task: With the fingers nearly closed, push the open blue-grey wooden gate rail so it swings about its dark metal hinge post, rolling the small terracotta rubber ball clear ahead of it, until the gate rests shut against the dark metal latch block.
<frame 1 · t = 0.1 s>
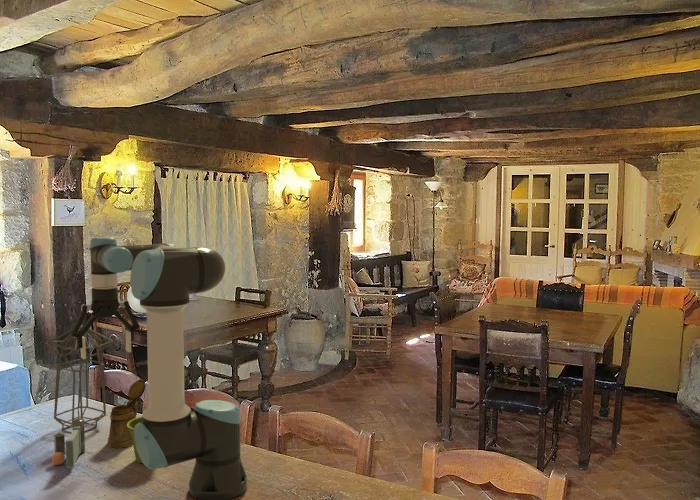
hand: (106, 354, 190), 28 cm above the table, tool pointing down, fingers open, 13 cm apart
latch block: (59, 454, 183), on the table
hinge post: (79, 452, 185), on the table
wooden mug: (128, 440, 195), on the table
plant pot: (149, 459, 181), on the table
geometric lantern: (82, 429, 203), on the table
gate: (73, 446, 177), point 5 cm above the table, hinge at 65.0°
ball: (58, 464, 177), on the table
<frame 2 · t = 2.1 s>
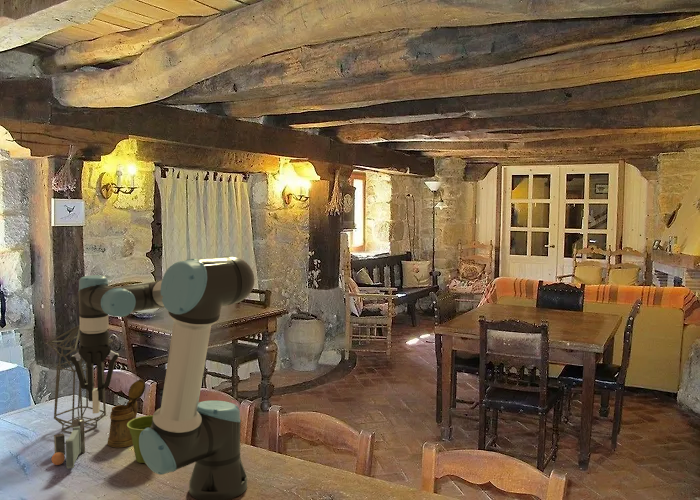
hand: (96, 411, 175), 16 cm above the table, tool pointing down, fingers closed
nothing on the table moved.
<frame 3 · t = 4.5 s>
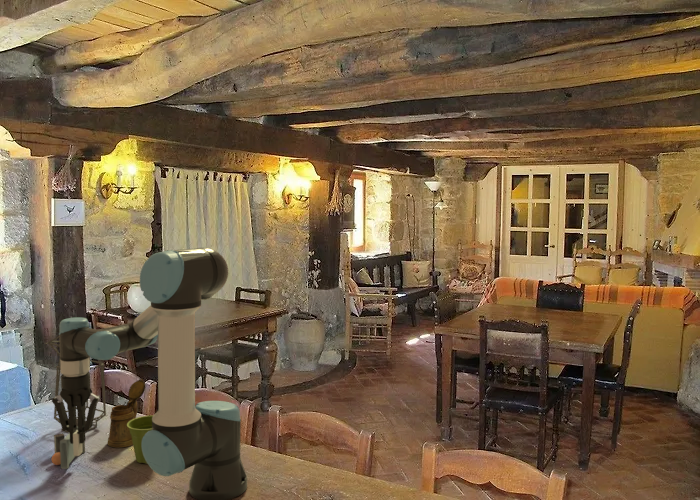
hand: (78, 453, 174), 4 cm above the table, tool pointing down, fingers closed
gate: (70, 446, 177), point 5 cm above the table, hinge at 58.4°, touching gripper
everything else where it was.
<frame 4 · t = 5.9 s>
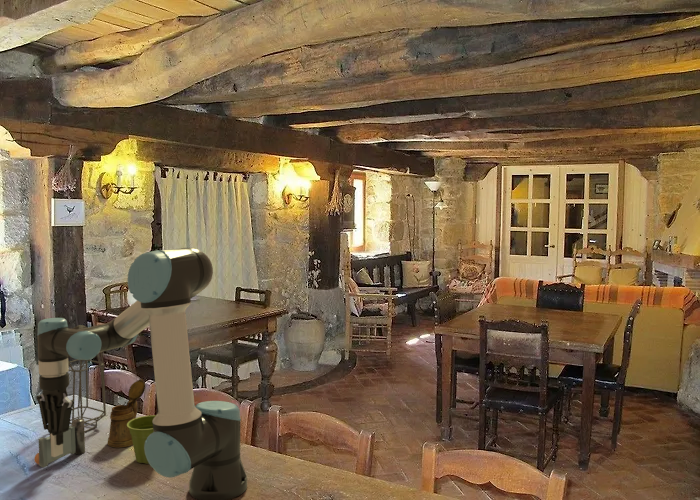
hand: (57, 454, 174), 4 cm above the table, tool pointing down, fingers closed
gate: (57, 446, 177), point 5 cm above the table, hinge at 28.1°, touching gripper
ball: (42, 452, 176), point 3 cm above the table, tilted 163°
everything else where it was.
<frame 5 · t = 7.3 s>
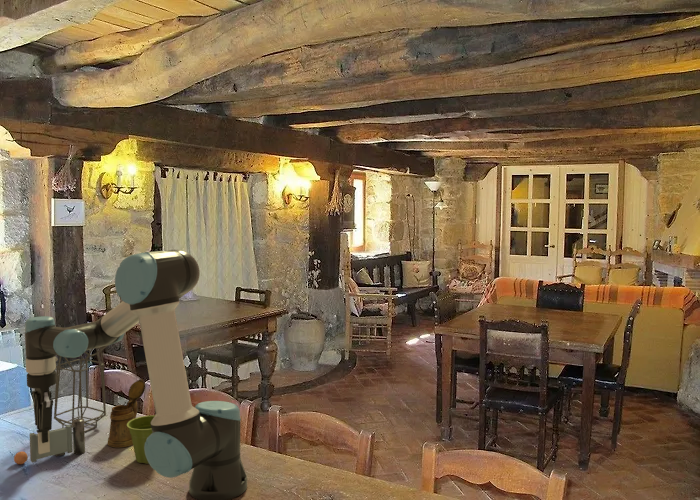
hand: (44, 452, 175), 4 cm above the table, tool pointing down, fingers closed
gate: (51, 443, 179), point 5 cm above the table, hinge at 2.4°, touching gripper
ball: (20, 463, 177), on the table
everything else where it was.
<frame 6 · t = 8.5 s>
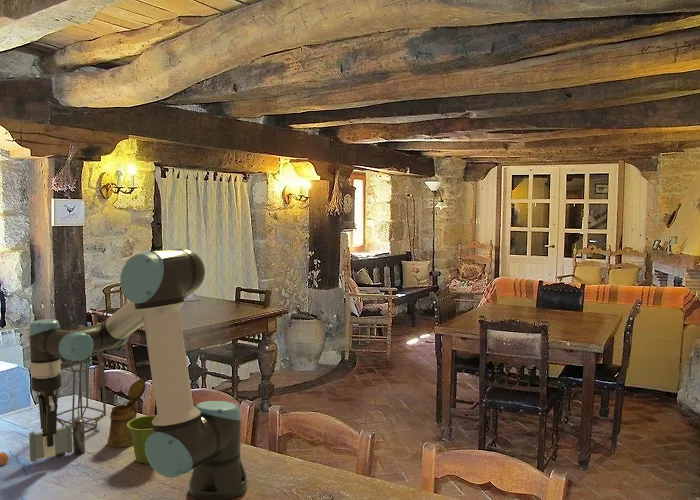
hand: (49, 456, 174), 4 cm above the table, tool pointing down, fingers closed
gate: (51, 442, 179), point 5 cm above the table, hinge at -0.2°
ball: (0, 453, 176), point 3 cm above the table, tilted 170°
everything else where it was.
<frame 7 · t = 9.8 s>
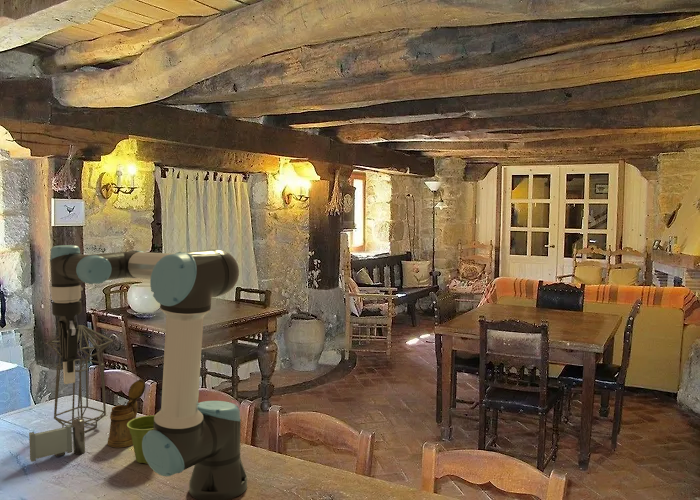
hand: (69, 382, 174), 24 cm above the table, tool pointing down, fingers closed
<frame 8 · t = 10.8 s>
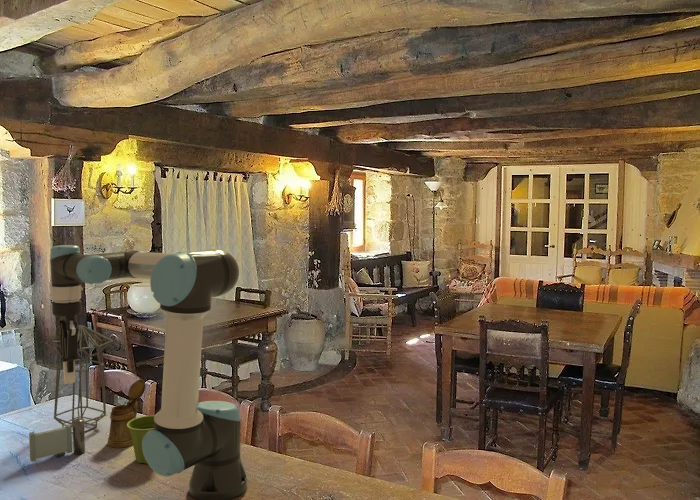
hand: (69, 382, 174), 24 cm above the table, tool pointing down, fingers closed
at the end: gate at +0° (first picture: +65°); ball moved 102.2 cm from its start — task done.
